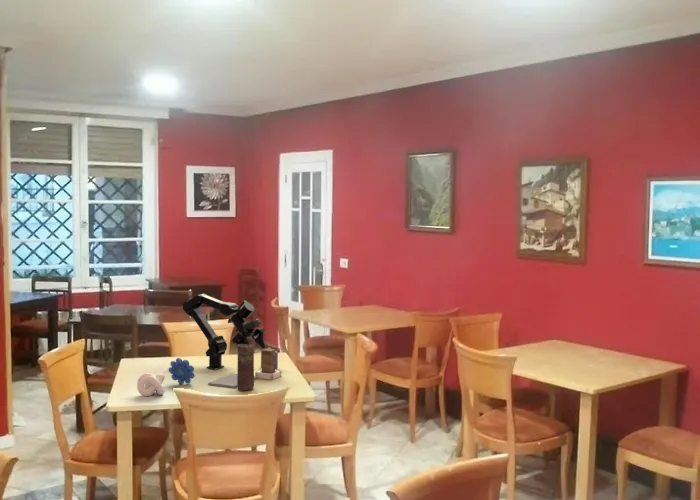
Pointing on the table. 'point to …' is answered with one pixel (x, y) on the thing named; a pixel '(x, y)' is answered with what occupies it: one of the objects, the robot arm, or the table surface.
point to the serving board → (227, 381)
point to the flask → (275, 359)
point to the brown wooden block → (268, 361)
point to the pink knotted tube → (150, 384)
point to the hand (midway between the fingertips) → (258, 349)
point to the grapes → (181, 371)
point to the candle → (245, 367)
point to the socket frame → (268, 374)
